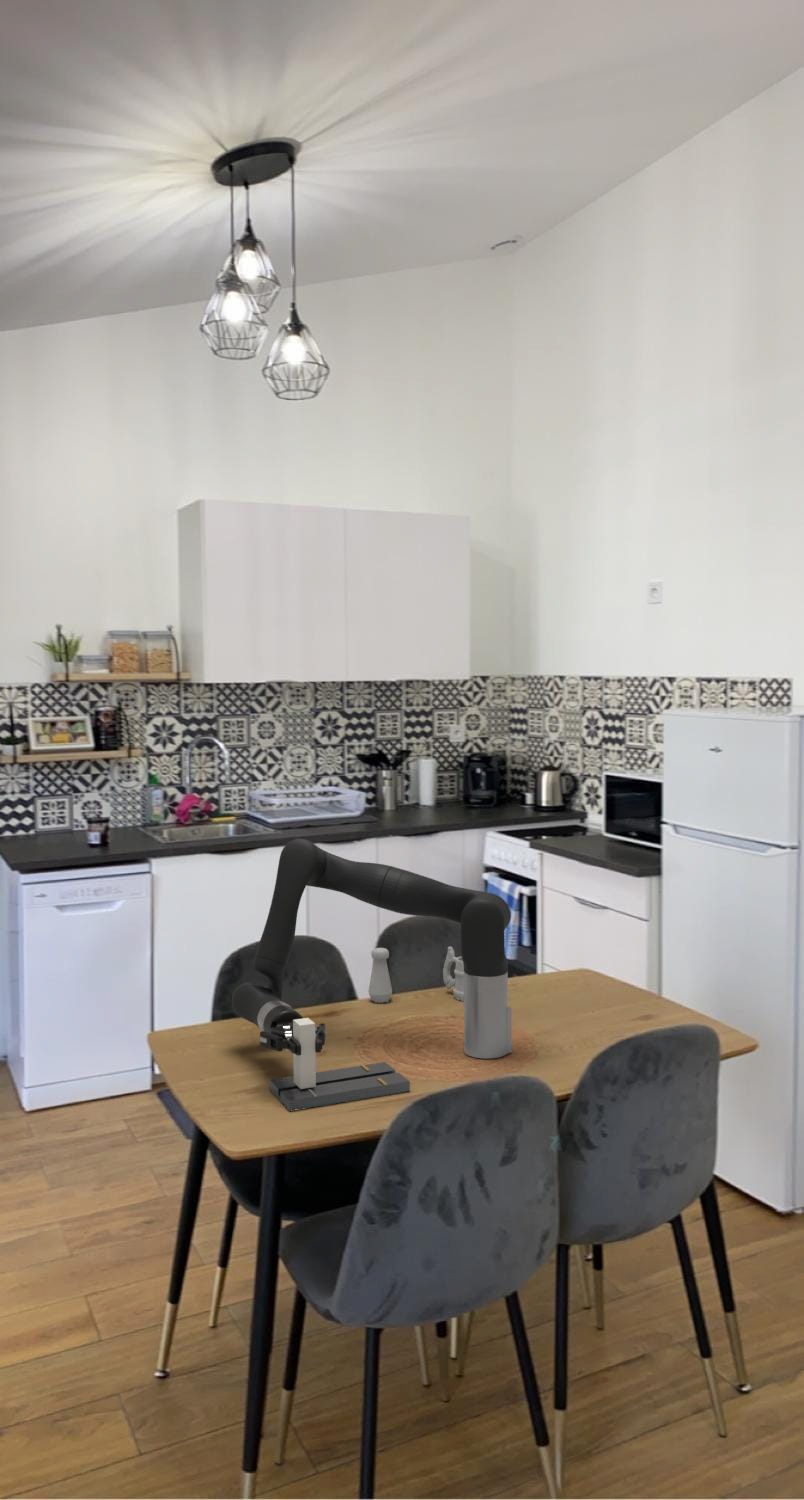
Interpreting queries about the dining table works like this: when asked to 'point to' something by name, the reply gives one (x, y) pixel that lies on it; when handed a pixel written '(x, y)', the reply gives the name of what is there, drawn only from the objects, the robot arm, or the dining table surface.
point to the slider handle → (305, 1053)
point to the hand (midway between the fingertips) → (309, 1048)
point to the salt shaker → (380, 977)
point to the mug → (458, 973)
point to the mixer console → (341, 1086)
